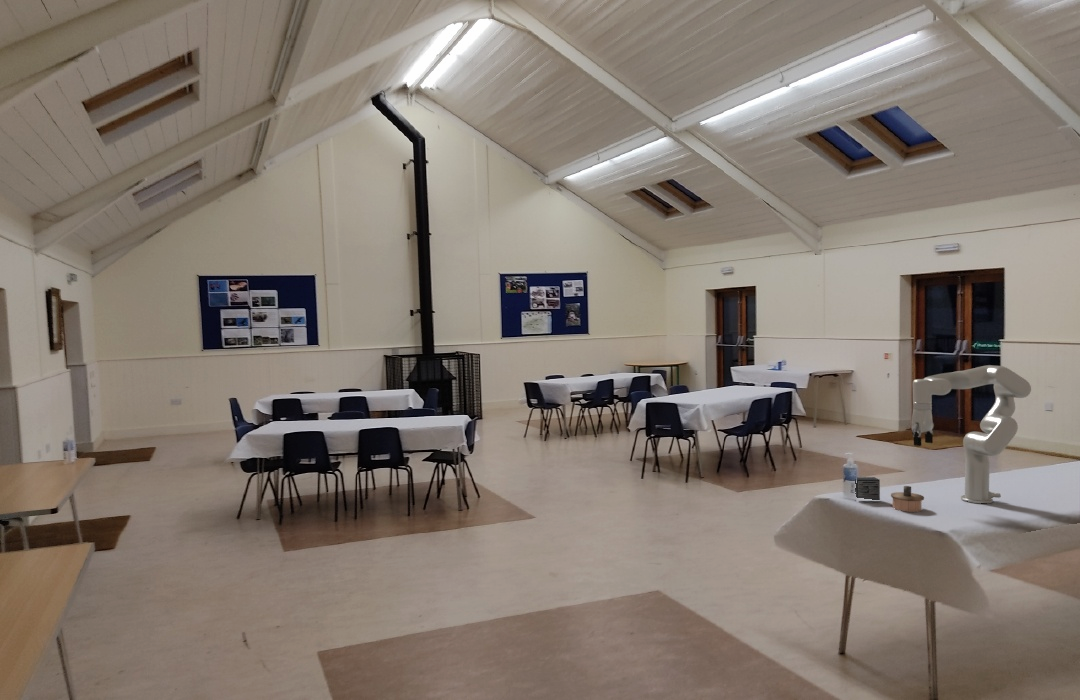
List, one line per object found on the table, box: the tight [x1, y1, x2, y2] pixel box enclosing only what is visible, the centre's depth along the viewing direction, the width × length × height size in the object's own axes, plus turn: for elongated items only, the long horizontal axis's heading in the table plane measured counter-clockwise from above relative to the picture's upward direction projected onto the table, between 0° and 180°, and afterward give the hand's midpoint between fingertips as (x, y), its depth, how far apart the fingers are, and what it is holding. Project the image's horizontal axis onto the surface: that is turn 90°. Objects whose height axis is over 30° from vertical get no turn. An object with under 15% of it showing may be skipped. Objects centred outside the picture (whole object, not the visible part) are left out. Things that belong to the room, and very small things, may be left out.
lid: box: [890, 485, 925, 501], centre depth 323 cm, size 13×13×5 cm
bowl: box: [892, 498, 923, 513], centre depth 323 cm, size 11×11×5 cm
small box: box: [855, 476, 881, 501], centre depth 339 cm, size 11×6×10 cm, turn 88°
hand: (923, 444), depth 332 cm, fingers open, 9 cm apart
